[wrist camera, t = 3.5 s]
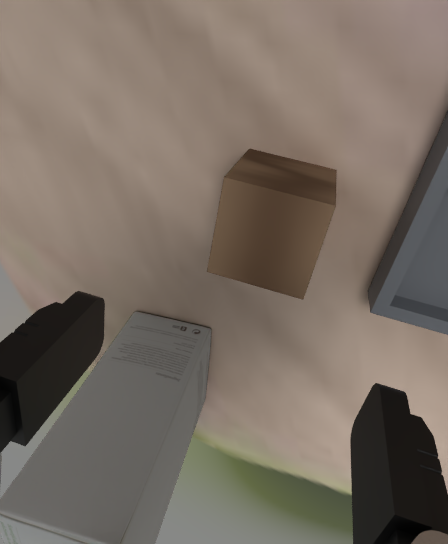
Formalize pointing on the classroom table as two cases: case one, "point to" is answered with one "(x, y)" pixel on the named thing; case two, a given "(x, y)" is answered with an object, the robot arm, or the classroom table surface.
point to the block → (272, 222)
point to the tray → (419, 251)
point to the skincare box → (115, 442)
